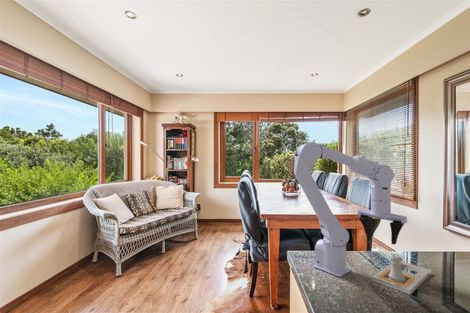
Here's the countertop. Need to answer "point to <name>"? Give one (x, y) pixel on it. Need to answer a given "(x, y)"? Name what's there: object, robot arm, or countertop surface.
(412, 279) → the rail plate
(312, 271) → the countertop surface
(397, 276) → the rook chess piece
